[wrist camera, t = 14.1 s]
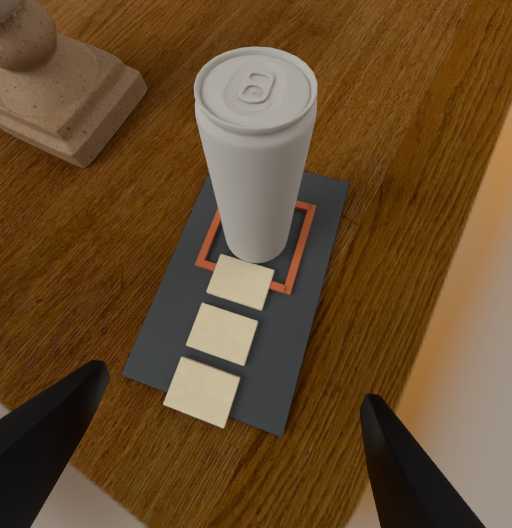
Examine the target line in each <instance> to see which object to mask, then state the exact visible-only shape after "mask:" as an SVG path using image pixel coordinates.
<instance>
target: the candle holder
mask: <svg viewBox="0 0 512 528" xmlns="http://www.w3.org/2000/svg"><path fill="white" fill-rule="evenodd" d="M147 89H148V88H147V86H146V84H145V82H144V80H143V78H142V76H141V74H140V72H139V71H137V70H135V69H133V68H131V67H129V66H127V65H124V64H123V62H122V61H121V60H120V59H119V58H117V57H116V56H114V55H112V54H110V53H108V52H106V51H103V50H101V49H98V48H96V47H93V46H91V45H88V44H86V43H83V42H81V41H78V40H75V39H72V38H69V37H66V36H63V35H60V34H57V31H56V26H55V23H54V21H53V19H52V17H51V16H50V14H49V13H48V12H47V11H46V10H45V8H43V7H42V6H41V5H40V4H39V3H38V2H36V1H35V0H0V128H1V129H2V130H4V131H5V132H7V133H9V134H10V135H12V136H14V137H16V138H18V139H20V140H22V141H24V142H27V143H29V144H31V145H33V146H35V147H37V148H39V149H41V150H44V151H46V152H48V153H50V154H52V155H54V156H56V157H58V158H60V159H63V160H65V161H67V162H69V163H71V164H74V165H76V166H79V167H81V168H86V167H87V166H89V165H90V164H91V163H92V161H93V160H94V159H95V158H96V157H97V156H98V154H99V153H100V152H101V151H102V149H103V148H104V147H105V146H106V144H107V143H108V142H109V140H110V139H111V138H112V137H113V135H114V134H115V133H116V131H117V130H118V129H119V128H120V126H121V125H122V124H123V123H124V121H125V120H126V119H127V117H128V116H129V115H130V114H131V112H132V111H133V110H134V108H135V107H136V106H137V105H138V103H139V102H140V101H141V99H142V98H143V96H144V95H145V94H146V92H147Z"/></svg>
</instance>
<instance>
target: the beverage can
mask: <svg viewBox="0 0 512 528" xmlns="http://www.w3.org/2000/svg"><path fill="white" fill-rule="evenodd" d="M317 86H318V84H317V81H316V78H315V75H314V73H313V71H312V70H311V69H310V68H309V66H308V65H307V64H306V63H305V62H303V61H302V60H301V59H299V58H298V57H296V56H294V55H292V54H290V53H287V52H285V51H282V50H278V49H274V48H268V47H246V48H239V49H235V50H231V51H227V52H225V53H223V54H221V55H218V56H216V57H214V58H213V59H212V60H210V61H209V62H208V63H207V64H205V65H204V66H203V68H202V69H201V70H200V72H199V73H198V74H197V77H196V80H195V83H194V94H195V100H196V101H195V113H196V120H197V124H198V128H199V132H200V136H201V140H202V145H203V149H204V153H205V157H206V161H207V165H208V169H209V173H210V177H211V181H212V185H213V189H214V193H215V197H216V201H217V206H218V210H219V214H220V218H221V222H222V226H223V230H224V234H225V238H226V242H227V244H228V247H229V249H230V250H231V251H232V253H233V254H234V255H235V256H237V257H238V258H240V259H241V260H244V261H246V262H250V263H263V262H267V261H270V260H272V259H274V258H275V257H277V256H278V255H279V254H280V253H281V252H282V251H283V249H284V248H285V245H286V242H287V239H288V235H289V230H290V226H291V222H292V217H293V213H294V209H295V204H296V200H297V196H298V192H299V187H300V183H301V179H302V175H303V170H304V166H305V162H306V158H307V154H308V149H309V145H310V141H311V136H312V132H313V128H314V123H315V119H316V111H317V101H316V98H317Z"/></svg>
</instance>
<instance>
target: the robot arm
mask: <svg viewBox="0 0 512 528" xmlns="http://www.w3.org/2000/svg"><path fill="white" fill-rule="evenodd" d="M109 381H110V374H109V371H108V368H107V365H106V363H105V362H104V361H100V360H91V361H89V362H88V363H86V364H85V365H83V366H82V367H80V368H78V369H77V370H75V371H74V372H72V373H71V374H69V375H68V376H66V377H64V378H63V379H61V380H60V381H58V382H57V383H55V384H54V385H52V386H50V387H49V388H47V389H46V390H44V391H43V392H41V393H40V394H38V395H37V396H35V397H33V398H32V399H30V400H29V401H27V402H26V403H24V404H23V405H21V406H19V407H18V408H16V409H15V410H13V411H12V412H10V413H9V414H7V415H6V416H4V417H3V418H1V419H0V528H30V527H31V525H32V524H33V522H34V520H35V518H36V517H37V515H38V513H39V512H40V510H41V508H42V506H43V504H44V503H45V501H46V499H47V498H48V496H49V494H50V493H51V491H52V489H53V487H54V486H55V484H56V482H57V481H58V479H59V477H60V475H61V474H62V472H63V470H64V468H65V467H66V465H67V463H68V462H69V460H70V458H71V456H72V455H73V453H74V451H75V449H76V448H77V446H78V444H79V443H80V441H81V439H82V437H83V436H84V434H85V432H86V430H87V428H88V426H89V424H90V422H91V420H92V418H93V416H94V414H95V412H96V410H97V408H98V405H99V403H100V401H101V399H102V397H103V395H104V393H105V390H106V388H107V386H108V384H109ZM360 420H361V427H362V434H363V442H364V449H365V457H366V464H367V469H368V474H369V479H370V483H371V487H372V492H373V496H374V500H375V504H376V509H377V512H378V517H379V522H380V526H381V528H486V527H485V526H484V525H483V523H481V521H480V520H479V518H478V517H477V516H476V515H475V513H474V512H473V511H472V510H471V508H470V507H469V506H468V505H467V503H466V502H465V501H464V500H463V498H462V497H461V496H460V495H459V493H458V492H457V491H456V490H455V488H454V487H453V486H452V485H451V483H450V482H449V481H448V480H447V478H446V477H445V476H444V475H443V473H442V472H441V471H440V470H439V469H438V467H437V466H436V465H435V463H434V462H433V461H432V460H431V459H430V457H429V456H428V455H427V453H426V452H425V451H424V450H423V448H422V447H421V446H420V445H419V443H418V442H417V441H416V440H415V439H414V437H413V436H412V435H411V433H410V432H409V431H408V430H407V428H406V427H405V426H404V425H403V423H402V422H401V421H400V419H399V418H398V417H397V416H396V414H395V413H394V412H393V411H392V409H391V408H390V407H389V406H388V404H387V403H386V402H385V401H384V399H383V398H382V397H381V396H380V395H377V394H369V393H368V394H366V395H365V397H364V400H363V402H362V405H361V408H360Z"/></svg>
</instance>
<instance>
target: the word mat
mask: <svg viewBox="0 0 512 528" xmlns="http://www.w3.org/2000/svg"><path fill="white" fill-rule="evenodd" d="M348 187H349V183H348V182H344V181H340V180H336V179H332V178H328V177H324V176H320V175H316V174H312V173H308V172H304V171H303V175H302V179H301V183H300V187H299V192H298V196H297V200H296V204H295V209H294V213H293V217H292V222H291V226H290V230H289V235H288V239H287V242H286V245H285V248H284V249H283V251H282V252H281V253H280V254H279V255H278V256H277V257H275V258H274V259H272V260H270V261H267V262H263V263H250V262H246V261H244V260H241V259H240V258H238V257H237V256H235V255H234V254H233V253H232V251H231V250H230V249H229V247H228V244H227V242H226V238H225V234H224V230H223V226H222V222H221V218H220V214H219V210H218V206H217V201H216V197H215V193H214V189H213V185H212V181H211V177H210V173H209V174H208V176H207V178H206V180H205V183H204V185H203V187H202V190H201V192H200V194H199V197H198V199H197V201H196V204H195V206H194V208H193V210H192V213H191V215H190V217H189V220H188V222H187V224H186V227H185V229H184V231H183V234H182V236H181V238H180V240H179V243H178V245H177V247H176V250H175V252H174V254H173V257H172V259H171V261H170V263H169V266H168V268H167V270H166V273H165V275H164V277H163V280H162V282H161V284H160V287H159V289H158V291H157V293H156V296H155V298H154V300H153V303H152V305H151V307H150V310H149V312H148V314H147V317H146V319H145V321H144V323H143V326H142V328H141V330H140V333H139V335H138V337H137V340H136V342H135V344H134V347H133V349H132V351H131V353H130V356H129V358H128V360H127V363H126V365H125V367H124V370H123V372H122V374H121V375H123V376H125V377H128V378H130V379H133V380H135V381H138V382H141V383H143V384H146V385H148V386H151V387H154V388H156V389H159V390H161V391H164V392H166V393H167V395H166V398H165V401H164V403H163V405H165V406H168V407H171V408H173V409H176V410H178V411H181V412H183V413H186V414H188V415H191V416H193V417H196V418H198V419H201V420H203V421H206V422H208V423H211V424H213V425H216V426H219V427H221V428H224V427H225V425H226V422H227V419H228V417H231V418H233V419H236V420H238V421H241V422H244V423H246V424H249V425H251V426H254V427H256V428H259V429H262V430H264V431H267V432H269V433H272V434H274V435H277V436H280V437H283V434H284V430H285V426H286V422H287V418H288V415H289V411H290V407H291V403H292V399H293V396H294V392H295V388H296V384H297V380H298V377H299V373H300V369H301V365H302V361H303V358H304V354H305V350H306V346H307V343H308V339H309V335H310V331H311V327H312V324H313V320H314V316H315V312H316V308H317V305H318V301H319V297H320V293H321V289H322V286H323V282H324V278H325V274H326V270H327V267H328V263H329V259H330V255H331V251H332V248H333V244H334V240H335V236H336V233H337V229H338V225H339V221H340V217H341V214H342V210H343V206H344V202H345V198H346V195H347V191H348Z"/></svg>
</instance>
